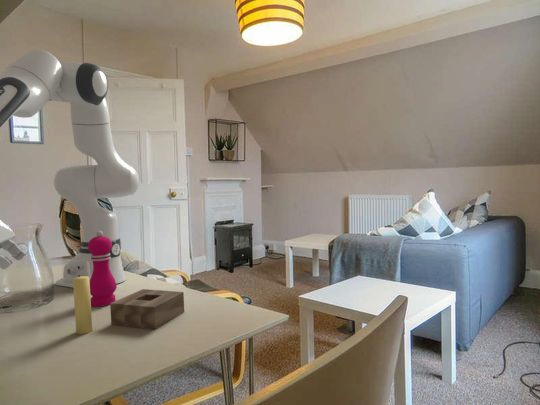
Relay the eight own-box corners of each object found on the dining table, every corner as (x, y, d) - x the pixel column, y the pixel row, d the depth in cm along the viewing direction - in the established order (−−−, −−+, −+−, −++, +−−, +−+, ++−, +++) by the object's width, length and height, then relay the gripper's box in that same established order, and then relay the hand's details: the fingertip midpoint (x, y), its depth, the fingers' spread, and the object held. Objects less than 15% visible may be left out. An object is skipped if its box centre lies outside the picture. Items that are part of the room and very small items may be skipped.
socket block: (111, 324, 90) (110, 303, 90) (143, 308, 101) (143, 289, 101) (155, 329, 86) (154, 307, 86) (184, 311, 97) (183, 292, 97)
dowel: (72, 333, 85) (69, 279, 85) (84, 328, 88) (81, 275, 88) (84, 335, 84) (81, 280, 84) (95, 329, 87) (92, 276, 87)
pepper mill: (88, 301, 108) (84, 230, 107) (115, 297, 112) (112, 228, 111) (89, 309, 102) (85, 233, 101) (118, 304, 105) (114, 230, 104)
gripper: (-56, 209, 69) (11, 259, 72) (-13, 203, 88) (39, 243, 92) (-85, 236, 68) (-15, 285, 71) (-35, 224, 87) (18, 264, 91)
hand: (16, 261), depth 82 cm, fingers open, 8 cm apart
